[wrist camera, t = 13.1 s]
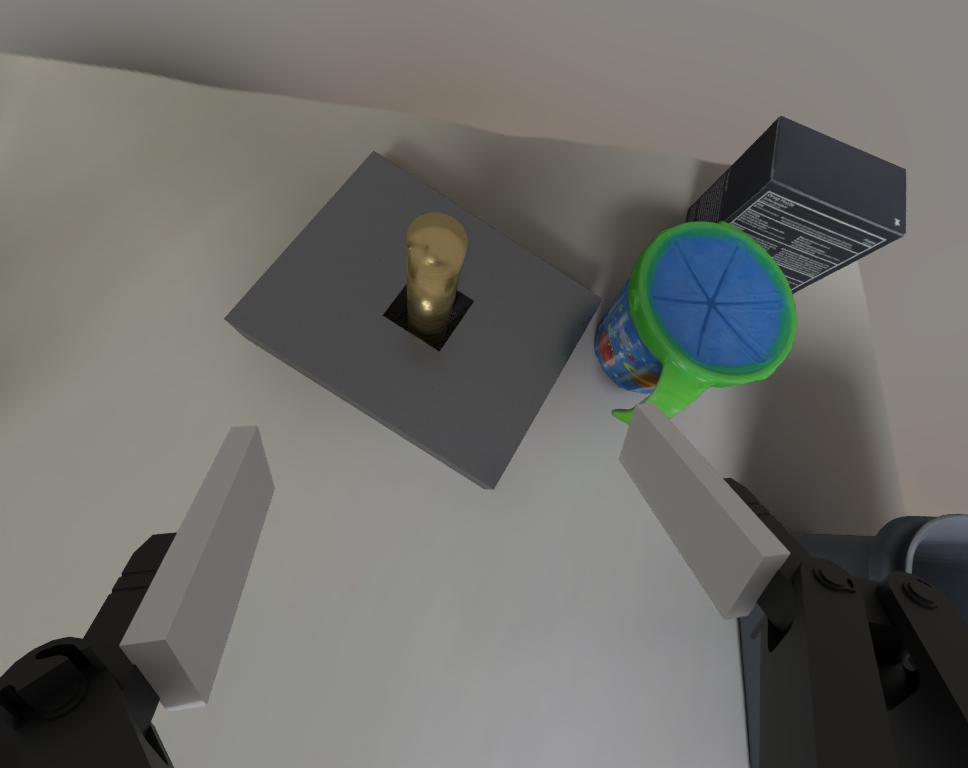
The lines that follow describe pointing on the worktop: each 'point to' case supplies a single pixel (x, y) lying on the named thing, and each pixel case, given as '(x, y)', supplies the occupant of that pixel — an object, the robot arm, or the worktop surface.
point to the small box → (808, 201)
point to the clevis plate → (397, 353)
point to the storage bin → (874, 579)
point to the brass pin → (433, 273)
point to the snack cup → (696, 317)
